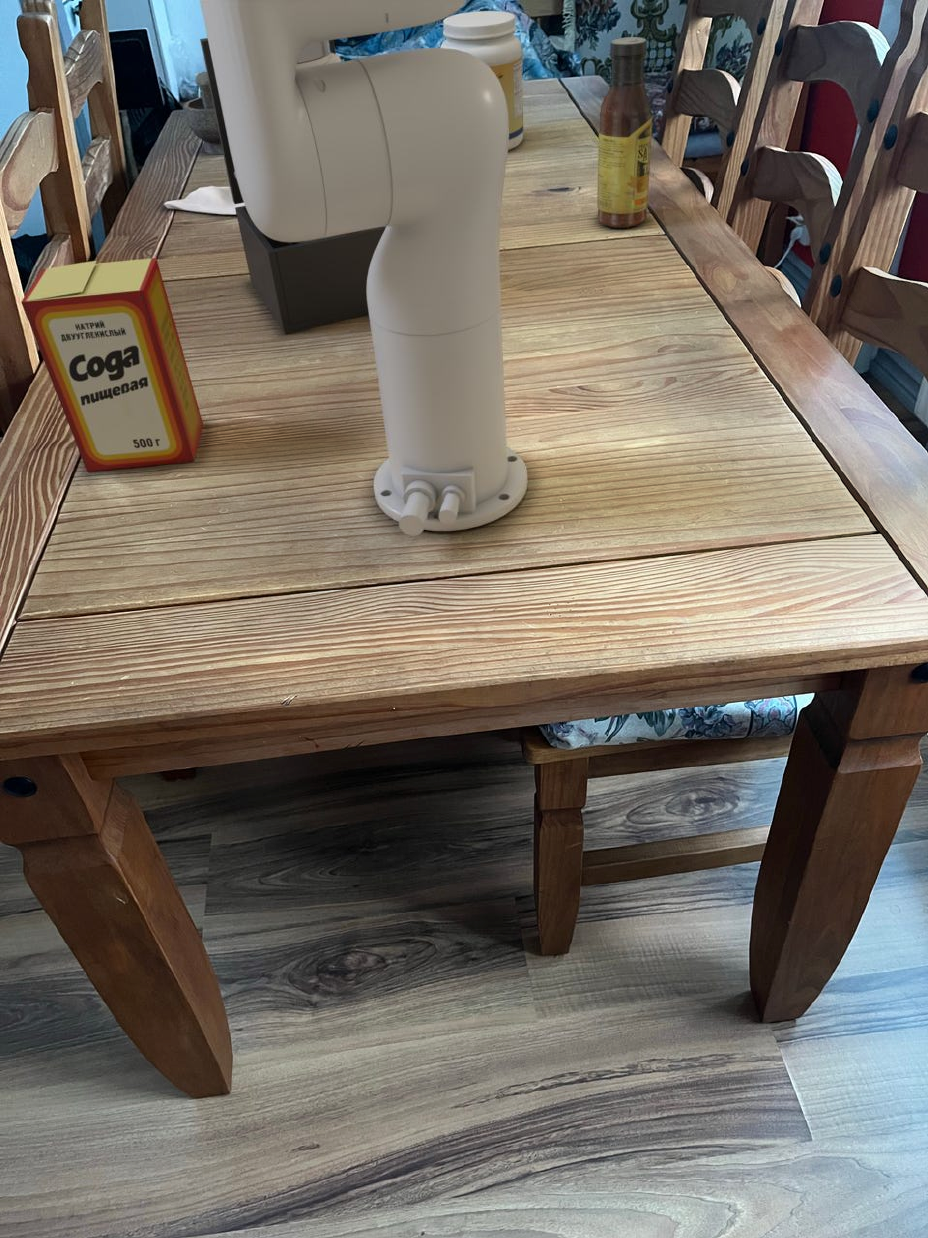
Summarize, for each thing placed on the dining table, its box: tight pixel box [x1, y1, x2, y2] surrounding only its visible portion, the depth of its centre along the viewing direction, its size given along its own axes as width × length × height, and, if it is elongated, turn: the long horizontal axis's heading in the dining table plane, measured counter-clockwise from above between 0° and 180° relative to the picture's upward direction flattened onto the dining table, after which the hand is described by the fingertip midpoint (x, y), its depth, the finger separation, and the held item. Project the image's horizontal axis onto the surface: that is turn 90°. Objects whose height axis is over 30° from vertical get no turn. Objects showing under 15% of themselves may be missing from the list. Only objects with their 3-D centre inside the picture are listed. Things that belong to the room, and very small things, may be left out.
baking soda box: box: [20, 257, 204, 473], centre depth 82 cm, size 10×6×16 cm
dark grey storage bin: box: [235, 206, 386, 335], centre depth 107 cm, size 16×14×9 cm
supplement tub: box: [439, 10, 525, 151], centre depth 143 cm, size 12×12×17 cm
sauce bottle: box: [596, 36, 654, 228], centre depth 115 cm, size 7×6×20 cm
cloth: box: [163, 185, 245, 216], centre depth 136 cm, size 26×14×2 cm, turn 91°
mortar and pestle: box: [183, 71, 223, 155], centre depth 152 cm, size 11×9×12 cm
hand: (320, 234), depth 103 cm, fingers closed on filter, 5 cm apart
